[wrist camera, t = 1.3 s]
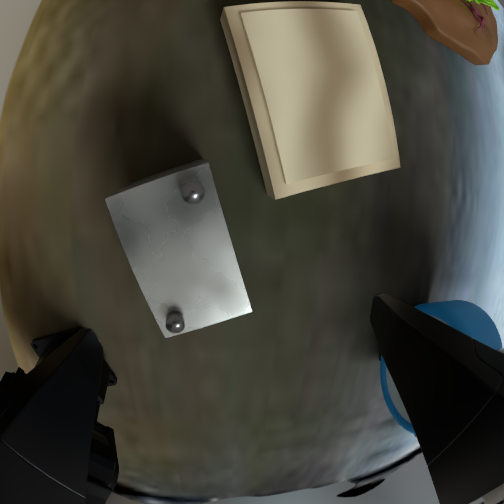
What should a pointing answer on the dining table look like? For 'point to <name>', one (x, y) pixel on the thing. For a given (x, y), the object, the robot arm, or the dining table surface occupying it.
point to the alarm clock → (456, 316)
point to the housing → (180, 248)
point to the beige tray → (311, 93)
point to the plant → (458, 25)
